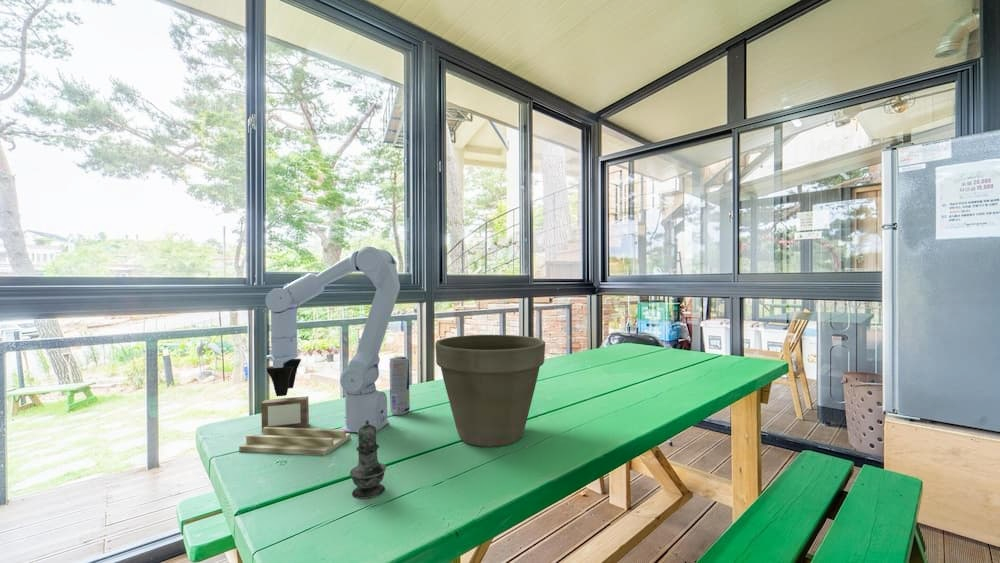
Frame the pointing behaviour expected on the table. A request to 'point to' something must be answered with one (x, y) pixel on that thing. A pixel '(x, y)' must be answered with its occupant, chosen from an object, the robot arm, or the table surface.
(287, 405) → the frame
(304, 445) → the ledge
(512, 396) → the plant pot
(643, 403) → the table surface
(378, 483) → the salt shaker
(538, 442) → the table surface
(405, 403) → the beverage can
